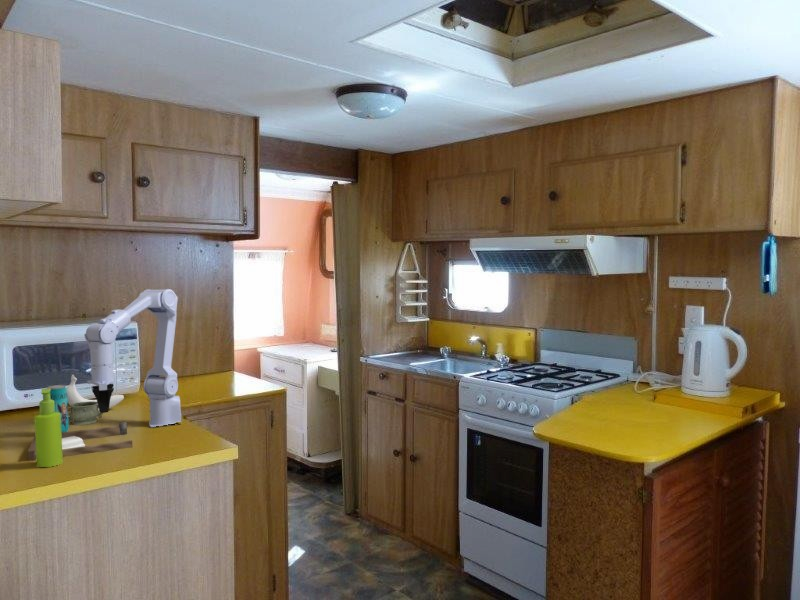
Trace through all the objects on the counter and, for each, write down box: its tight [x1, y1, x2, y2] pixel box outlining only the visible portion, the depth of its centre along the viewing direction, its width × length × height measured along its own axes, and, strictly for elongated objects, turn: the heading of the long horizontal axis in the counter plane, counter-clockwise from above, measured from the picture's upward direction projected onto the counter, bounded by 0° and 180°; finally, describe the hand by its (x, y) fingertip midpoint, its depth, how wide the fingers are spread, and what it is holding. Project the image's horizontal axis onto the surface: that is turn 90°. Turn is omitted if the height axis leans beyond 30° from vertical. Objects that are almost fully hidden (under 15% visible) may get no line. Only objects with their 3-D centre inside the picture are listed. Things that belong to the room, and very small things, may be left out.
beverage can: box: [46, 384, 70, 433], centre depth 191 cm, size 6×6×15 cm
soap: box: [62, 436, 86, 449], centre depth 176 cm, size 9×7×3 cm
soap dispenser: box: [34, 387, 64, 468], centre depth 160 cm, size 6×7×20 cm
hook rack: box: [27, 421, 133, 461], centre depth 178 cm, size 26×19×4 cm
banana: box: [66, 374, 125, 412], centre depth 222 cm, size 5×19×15 cm, turn 120°
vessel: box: [68, 401, 104, 426], centre depth 207 cm, size 12×9×6 cm
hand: (104, 410), depth 180 cm, fingers open, 4 cm apart
